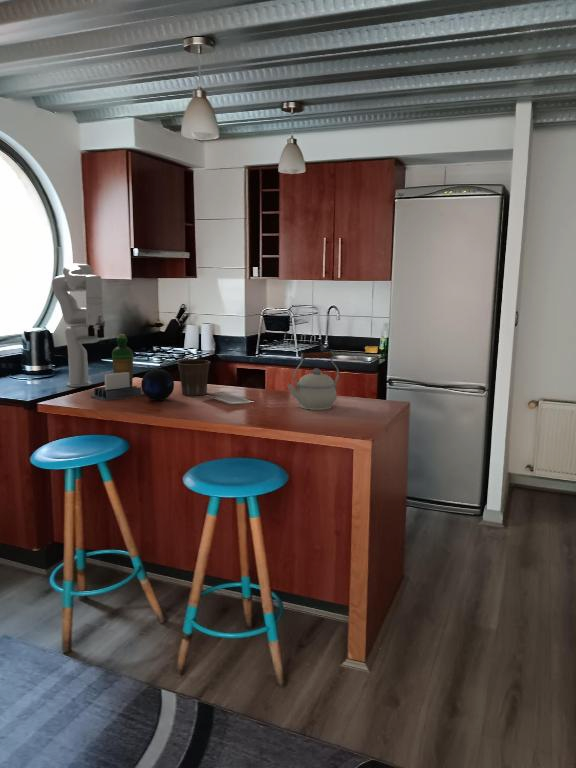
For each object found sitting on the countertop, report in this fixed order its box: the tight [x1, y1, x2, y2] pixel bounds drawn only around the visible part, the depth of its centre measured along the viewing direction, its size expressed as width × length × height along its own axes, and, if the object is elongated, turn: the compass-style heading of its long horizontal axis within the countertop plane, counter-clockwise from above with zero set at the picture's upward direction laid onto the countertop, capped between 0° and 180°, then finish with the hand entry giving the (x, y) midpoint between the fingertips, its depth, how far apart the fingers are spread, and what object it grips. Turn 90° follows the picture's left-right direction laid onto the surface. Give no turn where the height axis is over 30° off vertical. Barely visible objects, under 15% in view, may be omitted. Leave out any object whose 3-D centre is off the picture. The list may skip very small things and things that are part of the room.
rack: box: [89, 384, 146, 402], centre depth 305 cm, size 14×22×4 cm, turn 133°
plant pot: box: [176, 359, 211, 397], centre depth 310 cm, size 16×16×16 cm
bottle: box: [111, 333, 134, 385], centre depth 322 cm, size 11×11×28 cm
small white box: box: [104, 372, 130, 390], centre depth 304 cm, size 2×12×10 cm, turn 133°
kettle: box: [286, 351, 340, 411], centre depth 281 cm, size 25×18×25 cm
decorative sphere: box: [140, 368, 175, 402], centre depth 294 cm, size 15×15×15 cm
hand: (96, 337), depth 304 cm, fingers open, 9 cm apart
